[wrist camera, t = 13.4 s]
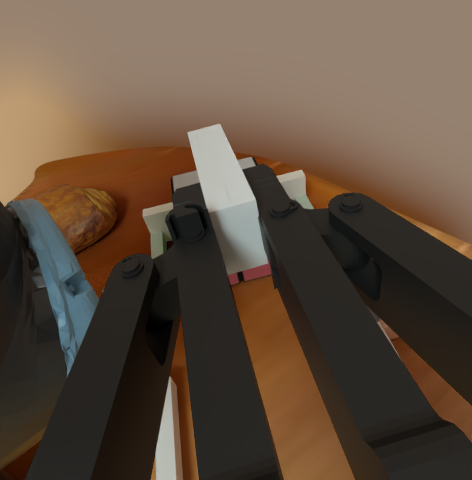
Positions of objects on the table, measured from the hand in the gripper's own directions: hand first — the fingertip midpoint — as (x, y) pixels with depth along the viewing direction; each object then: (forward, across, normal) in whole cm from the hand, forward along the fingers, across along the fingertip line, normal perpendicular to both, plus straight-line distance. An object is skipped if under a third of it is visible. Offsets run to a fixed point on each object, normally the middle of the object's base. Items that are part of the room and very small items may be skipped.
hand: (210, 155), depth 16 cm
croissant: (+31, -22, -21) cm, 43 cm away
